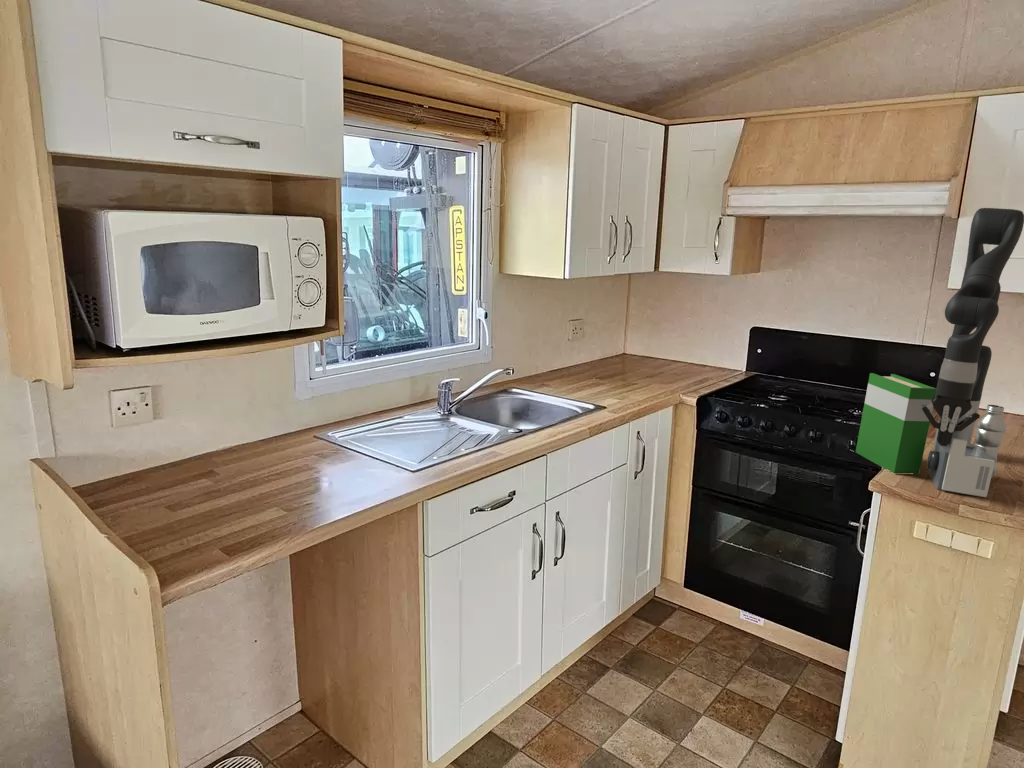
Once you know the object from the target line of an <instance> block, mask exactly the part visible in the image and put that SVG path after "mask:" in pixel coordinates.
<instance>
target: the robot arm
mask: <svg viewBox="0 0 1024 768" xmlns="http://www.w3.org/2000/svg"><path fill="white" fill-rule="evenodd" d="M1023 228H1024V212H1023V211H1022V210H1020V209H1015V208H1014V209H1012V208H996V207H981V208H979V209H977V210H976V212H975V213H974V215H973V217H972V221H971V224H970V231H969V238H968V247H967V248H968V249H967V255H966V262H965V263H966V264H965V269H964V272H963V273H964V274H963V277H962V281H961V285H960V288H959V289H958V290H957V292H955V294H954V295H952V297H951V298H950V299H949V301H948V303H946V306H945V309H944V317H945V320H946V321H947V322H948V323H949V324H952V325H954V326H953V331H952V334H951V336H950V337H949V338H948V340H947V342H946V348H945V353H944V358H943V361H942V363H941V366H940V370H939V375H938V380H937V383H936V384H937V385H936V394H935V397H934V398H933V399H932V401H931V403H929V404H927V405H922V406H921V409H922V410H923V412H924V413H925V415H926V417H927V418H928V420H929V421H930V424H931V426H932V427H933V428H935V429H936V432H935V436H934V442H933V446H932V450H933V451H934V450H935V445H936V440H937V442H938V443H939V445H941V446H947V444H950V443H951V442H952V438H955V439H962V440H967V443H970V444H972V440H973V436H974V432H975V428H976V424H977V421H978V420H979V419H980V418H981V415H980V414H979V408H980V404H981V401H982V400H981V399H982V395H983V390H984V385H985V381H986V378H987V375H988V371H989V367H990V364H991V360H992V355H993V353H992V352H993V351H992V348H991V347H990V346H987V345H983V344H984V341H985V338H986V336H987V335H988V333H989V331H990V329H991V328H992V326H993V324H994V323H995V321H996V319H997V317H998V315H999V312H1000V309H999V303H998V302H999V299H1000V295H1001V294H1000V293H1001V291H1002V290H1001V288H1002V286H1001V284H1000V279H1001V275H1002V273H1003V271H1004V268H1005V267H1006V265H1007V263H1008V262H1009V259H1010V258H1011V255H1012V254H1013V252H1014V250H1015V248H1016V247H1017V244H1018V242H1019V241H1020V238H1021V235H1022V232H1023ZM984 245H993V246H995V247H993V248H992V249H991V250H990V251H988V252H986V253H985V249H984ZM932 408H933V409H934V410H935V411H936V413H937V415H938V416H939V417H938V418H939V419H938V422H937V421H936V419H935V417H934V416H933V412H934V410H933V409H932ZM931 412H932V414H931Z"/></svg>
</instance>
